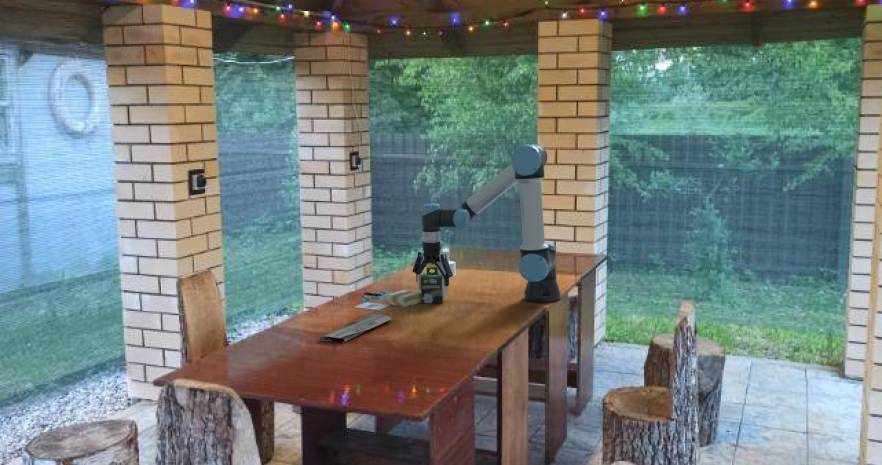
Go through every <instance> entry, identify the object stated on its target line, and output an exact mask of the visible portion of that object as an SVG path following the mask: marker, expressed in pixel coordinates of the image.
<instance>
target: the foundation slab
mask: <svg viewBox="0 0 882 465" xmlns="http://www.w3.org/2000/svg"><path fill="white" fill-rule="evenodd" d="M386 299H387V300H386V301H387V304H386V305H390V306H391V305H393V306H399V307H404V308H406V307H410V306H413V305H417V304H420V303H421V304H422V299H421V292H418V291H411V290H405V289H402V290H399V291H396V292H391V293H390V292H389V293H387V296H386Z"/></svg>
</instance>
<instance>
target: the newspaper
mask: <svg viewBox="0 0 882 465" xmlns="http://www.w3.org/2000/svg"><path fill="white" fill-rule="evenodd" d="M393 319H394V318H392V317H390V316H389V315H384V314H373V313H372V314H367V315H365V316H363V317H360V318H359V319H357V320H354V321H352V322H350V323H348V324H346V325H344V326H342V327H339V328H337V329H336V330H334V331H331V332H329V333H327V334H325V335H322V336H321V337H319V341H320V342H323V341H325V342H332V341H334V340H336V339H342V340H343V341H342V344H344V343H346V342H348V341H350V340H352V339H354V338H356V337H358V336H360V335H361V334H364V333H366V332H368V331H370V330H373V329H374V328H376V327H378V326H380V325H382V324H384V323H386V322H389V321H391V320H393Z"/></svg>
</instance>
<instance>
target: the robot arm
mask: <svg viewBox="0 0 882 465" xmlns="http://www.w3.org/2000/svg"><path fill="white" fill-rule="evenodd" d="M547 162H548V153H547V151H546V149H545V147H544V146H543V145H541V144H539V143H535V142H531V143H526V144H521V145H520V146H518V147H517V148H516V149H514V151H513V152H512V154H511V158H510V163H511V164H510V165H508V166H507V167H506V168H504V170H502V171H501V172H500V173H498V174H497V175H496V176H495V177H494V178H492V179H491V180H489V182H488V183H486V184H485V185H484V186H483V187H481V188H480V189H478V190H477V191H476V192H475V193H473V195H471V196H470V197H469V198H468V199H466V200H465V201H464V202H463V203H461V204H460V205H458V206H456V207H454V208H447V209H446V208H441V206H440V205H441V204H438V203H424V204H423V205H422V206H421V227H422V228H421V229H422V230H421V233H422V241H423V242H422V250H420V251H417V256H416V259H415V262H414V265H413V267H412V269H411V272H412V273H415V275H416V282H417V291H421V276H422V274H423V271H424V270H425V269H426V268H427V265H428V264H431V265H434V266H435V267H437V268H438V269H439V271H440V272H441V274H442V276H443V277H444V278H442V294H445V295H447V294H449V286H450V278H452V277H454V276H453V274H452V271H451V269H450V266H449V263H448V261H447V256H446V254H443V253H441V251H442V250H441V249H442V246H441V245H442V244H441V240H442V239H441V235H442V234H441V228H452V229H453V228H456V229H457V228H458V229H462V228H467V227H469V225H470V222H471V221H472V220H473V218H475V217H476V216H477V215H479V214H480V213H481V212H482V211H483V210H485V209H486V208H487V207H488V206H489V205H491V204H492V203H494V202H495V201H497V199H499V198H500V197H501V196H503V194H505V193H506V192H508V191H509V190H511V188H513V187H514V186H515V185H516V184H518V186H519V200H520V201H519V202H520V216H521V228H522V229H521V231H522V232H521V233H522V245H520V247H519V257H520V259H519V261H518V266H517V267H518V272H519V275H520V276H521V277H522V278H523V279H524V280H525V281H527V284H526V286H525V290H524V293H523V298H524V300H525V301H528V302H533V303H552V302H553V303H554V302H557V301H559V300H561V299H562V298H561V297H562V296H561V295H562V294H561V290H560V287H559V283H558V281H557V246H556V244H552V243H546V240H545V239H546V238H545V225H544V224H545V223H544V210H543V207H544V206H543V194H542V191H543V190H542V181H544V179H545V166H546V165H547Z"/></svg>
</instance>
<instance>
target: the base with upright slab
mask: <svg viewBox="0 0 882 465" xmlns="http://www.w3.org/2000/svg"><path fill="white" fill-rule="evenodd" d="M442 254H446V256H447V261H448V263H449V266H450V269H451V271H452V274H453V276H452V277H454V276H456V275H457V270H456V268H457V267H456V265H457V264H456V261H453V260H450V248H442ZM438 272H440V271H439V269H438Z"/></svg>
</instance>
